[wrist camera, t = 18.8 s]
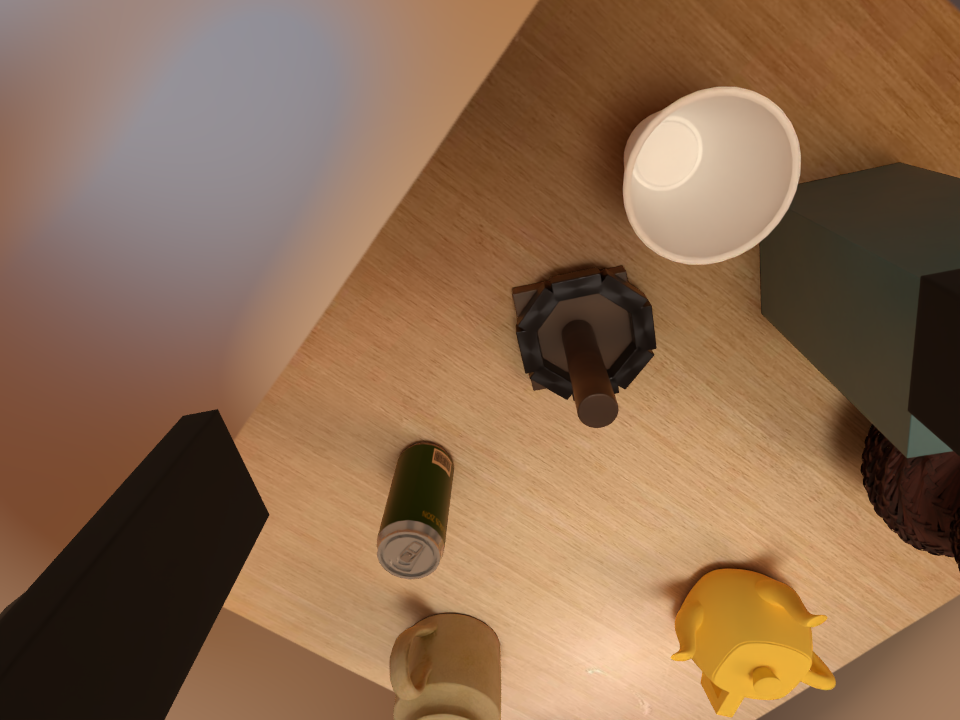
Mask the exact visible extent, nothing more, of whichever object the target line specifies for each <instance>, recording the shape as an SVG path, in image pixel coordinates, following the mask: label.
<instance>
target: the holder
mask: <svg viewBox="0 0 960 720" xmlns="http://www.w3.org/2000/svg"><path fill="white" fill-rule="evenodd" d="M607 270H609V271H611V272H612V273H614V274H615V275H617V276H618V277H620V278H622V279H623V280H625V281H626V282H628V281H627V273H626V270H625V269H624V267H623V266H619V267H614V268H609V269H607ZM599 271H600V273H601V272H602V271H603V270H599ZM545 282H546V283H548V284H549V285H551V283H550V281H545ZM541 284H542V282H540V283H535V284H531V285H526V286H521V287H516V288H512V293H513V299H514V304H515V308H516V313H517V318H518V317H519V315H520V314H521V312H522V311H523V309H524V308H525V307H526V305H527V304H528V302H529V301H530V299H531V298H532V297H533V295H534V294H535V292H536V291H537V290H538V288H539V287H540V285H541ZM537 332H538V337H539V342H540V347H541V351H542V356H543V359H545V360H547V361H549V362H550V363H552V364H554V365H555V366H557V367H559V368H561V369H562V370H564V371H566V372H567V373H569V375H570V379H571V384H572V389H573V394H574V399H575V403H576V408H577V413H578V417H579V419H580V420H581V421H582V422H583V423H584V424H585V425H587V426H589V427H593V428H601V427H605V426H607V425H609V424H611V423H612V422H613V421H614V420H615V418H616V417H617V414H618V404H617V401H616V398H615V395H614V392H613V389H612V386H611V383H610V380H609V377H608V373H607V370H606V369H610V367H611V366H612V365H613V364H614V363H615V361H616V360H617V359H618V358H619V356H620V355H621V354H622V353H623V352H624V350H625V349H626V348H627V347H628V345H629V344H630V343H631V342H632V335H631V328H630V320H629V313H628V311H626V310H625V309H623V308H621V307H620V306H618V305H617V304H615V303H613V302H612V301H610V300H609V299H607V298H605V297H604V296H602V295H601V294H599V293H598V294H593V295H589V296H584V297H579V298H574V299H569V300H564V301H559V303H558V304H557V305H556V307H555V308H554V310H553V311H552V312H551V314H550V315H549V316H548V318H547V319H546V320H545V322H544V323H543V325H542V326H541V327H540V329H539V330H538V331H537ZM531 382H532V387H533V390H534V391H535V390H540V389H546V388H545V387H543V386H542V385H540V384H538V383H536V382H535V381H533V380H531Z"/></svg>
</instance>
